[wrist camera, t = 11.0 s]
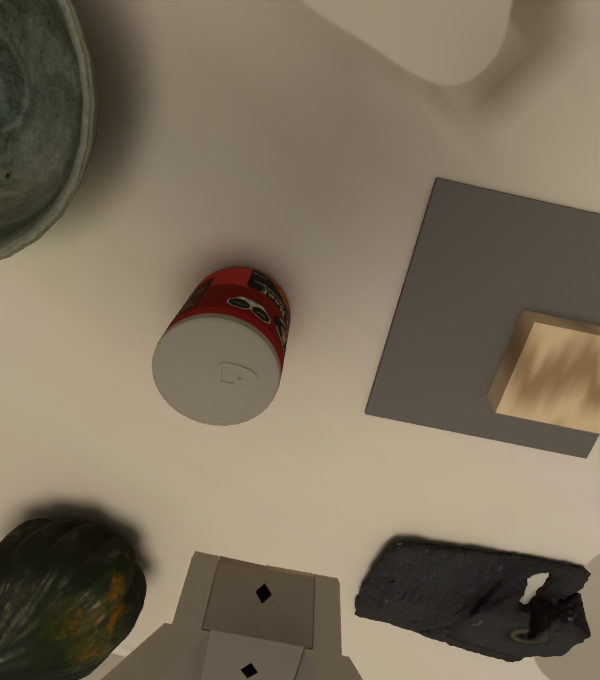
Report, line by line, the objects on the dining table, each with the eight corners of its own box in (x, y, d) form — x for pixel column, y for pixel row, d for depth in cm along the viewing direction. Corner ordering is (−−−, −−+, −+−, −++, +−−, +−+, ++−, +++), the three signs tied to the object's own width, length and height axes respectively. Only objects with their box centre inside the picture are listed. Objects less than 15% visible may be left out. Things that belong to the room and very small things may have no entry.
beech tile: (534, 322, 38) (690, 354, 38) (522, 309, 40) (669, 340, 41) (495, 412, 41) (638, 441, 42) (486, 396, 43) (622, 424, 44)
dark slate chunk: (395, 508, 50) (402, 547, 46) (601, 566, 52) (626, 608, 47) (342, 610, 56) (344, 653, 52) (527, 658, 58) (544, 703, 54)
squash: (162, 659, 52) (76, 720, 38) (27, 662, 54) (-103, 721, 40) (165, 510, 56) (88, 515, 42) (39, 518, 58) (-75, 525, 44)
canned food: (299, 345, 43) (290, 419, 33) (206, 358, 44) (170, 434, 34) (281, 256, 40) (266, 307, 30) (181, 272, 41) (134, 327, 31)
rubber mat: (436, 177, 37) (437, 178, 36) (702, 237, 38) (706, 238, 37) (364, 411, 45) (365, 414, 45) (584, 455, 46) (586, 458, 45)
